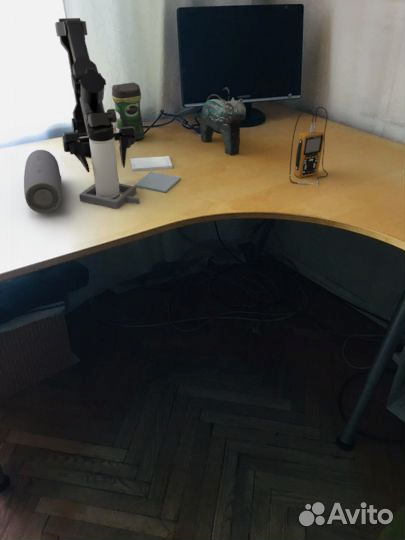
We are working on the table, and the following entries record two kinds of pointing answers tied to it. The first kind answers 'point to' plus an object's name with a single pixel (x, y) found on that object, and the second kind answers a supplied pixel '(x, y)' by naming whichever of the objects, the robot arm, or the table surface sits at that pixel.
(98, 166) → the travel mug
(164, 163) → the hard drive
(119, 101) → the coffee jar
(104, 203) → the collar
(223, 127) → the animal figurine
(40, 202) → the bluetooth speaker
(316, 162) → the multimeter
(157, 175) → the mat
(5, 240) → the table surface
